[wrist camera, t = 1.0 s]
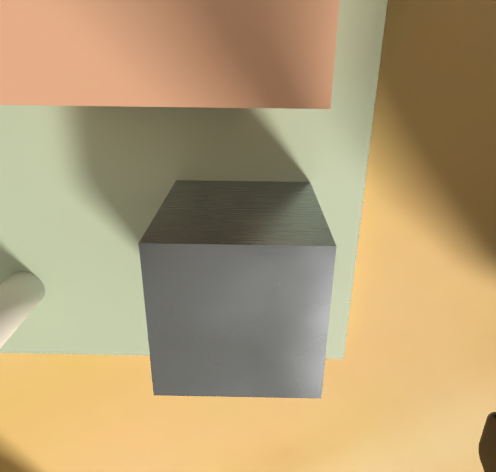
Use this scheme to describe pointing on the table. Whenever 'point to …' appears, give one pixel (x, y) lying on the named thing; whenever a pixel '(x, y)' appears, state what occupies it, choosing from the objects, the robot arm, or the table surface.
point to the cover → (168, 53)
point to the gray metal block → (238, 289)
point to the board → (164, 194)
